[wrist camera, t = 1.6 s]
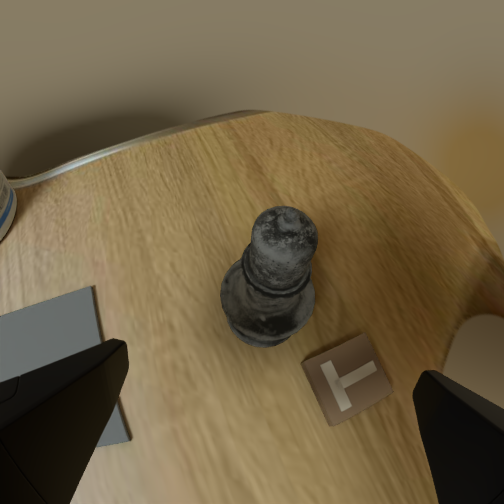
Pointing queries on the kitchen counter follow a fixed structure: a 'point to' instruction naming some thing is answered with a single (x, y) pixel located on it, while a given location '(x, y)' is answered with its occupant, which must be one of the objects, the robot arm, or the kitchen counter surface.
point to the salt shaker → (272, 279)
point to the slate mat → (54, 342)
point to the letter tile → (347, 379)
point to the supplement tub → (6, 205)
